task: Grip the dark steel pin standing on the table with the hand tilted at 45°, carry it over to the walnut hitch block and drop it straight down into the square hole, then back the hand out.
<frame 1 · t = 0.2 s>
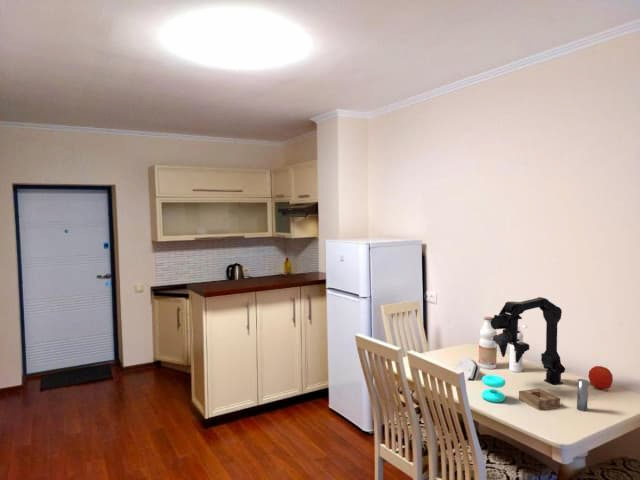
hand: (509, 359, 224), 15 cm above the table, tool pointing down, fingers open, 9 cm apart
hitch block: (538, 403, 208), on the table
apple: (599, 388, 226), on the table
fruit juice: (487, 367, 257), on the table
water bottle: (517, 370, 251), on the table
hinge: (467, 375, 244), on the table
donuts: (493, 399, 212), on the table
steel pin: (581, 409, 201), on the table
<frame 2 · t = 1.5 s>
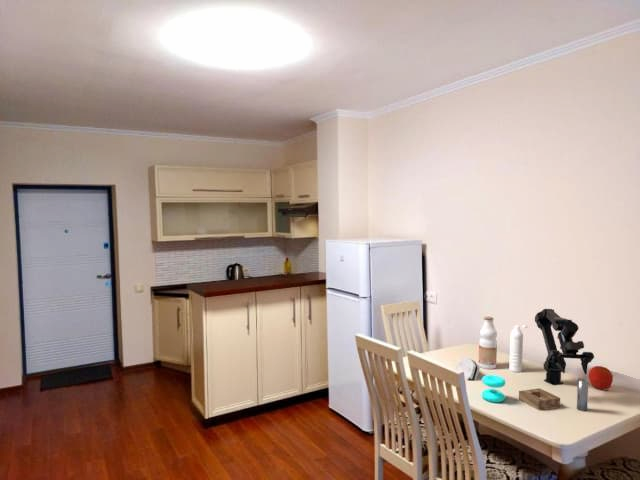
hand: (575, 373, 208), 13 cm above the table, tool tilted 45°, fingers open, 9 cm apart
nothing on the table moved.
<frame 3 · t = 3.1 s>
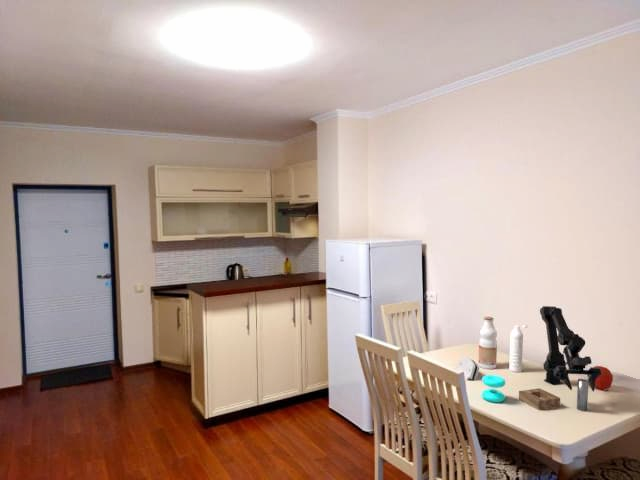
hand: (582, 390, 201), 9 cm above the table, tool tilted 45°, fingers open, 9 cm apart
nothing on the table moved.
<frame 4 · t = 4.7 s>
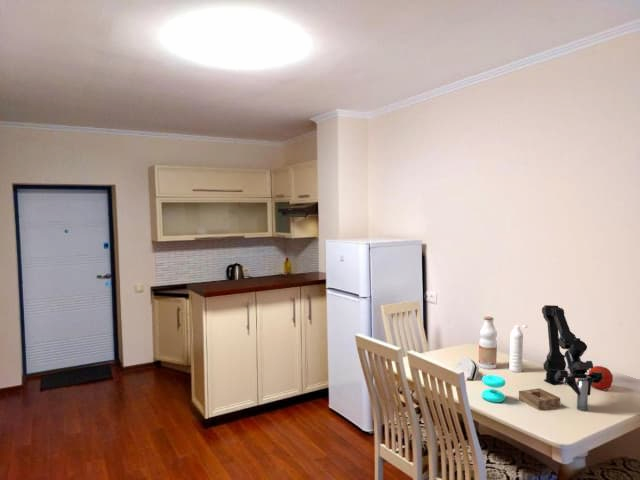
hand: (584, 394, 199), 7 cm above the table, tool tilted 45°, fingers closed on steel pin, 4 cm apart
steel pin: (581, 409, 201), on the table, touching gripper
everything else where it was.
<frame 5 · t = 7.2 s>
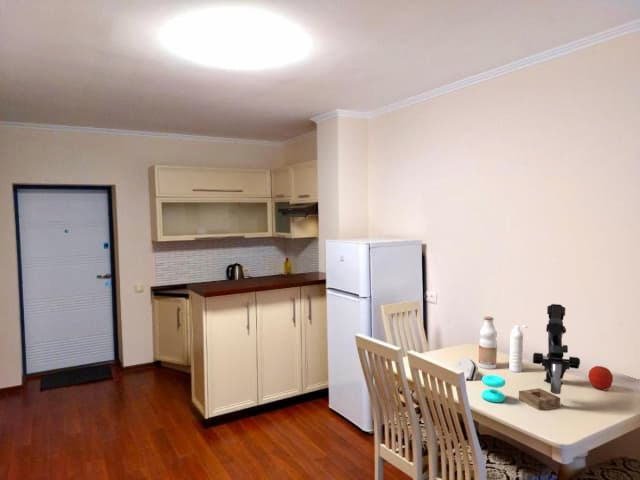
hand: (556, 377, 202), 13 cm above the table, tool tilted 45°, fingers closed on steel pin, 4 cm apart
steel pin: (555, 392, 204), point 6 cm above the table, touching gripper
when the fingers open (8 cm above the table, at t = 9.9 s): steel pin drops 1 cm, resting in hitch block.
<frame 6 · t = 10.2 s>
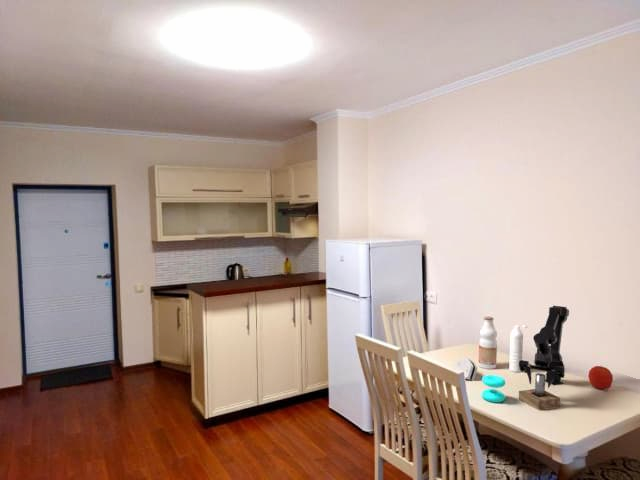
hand: (539, 385, 206), 9 cm above the table, tool tilted 45°, fingers open, 7 cm apart
steel pin: (539, 403, 208), resting in hitch block
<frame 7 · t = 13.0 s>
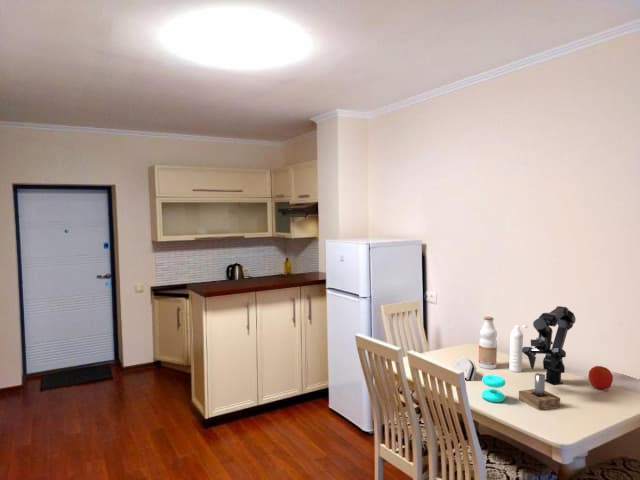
hand: (541, 369, 215), 13 cm above the table, tool tilted 35°, fingers open, 9 cm apart
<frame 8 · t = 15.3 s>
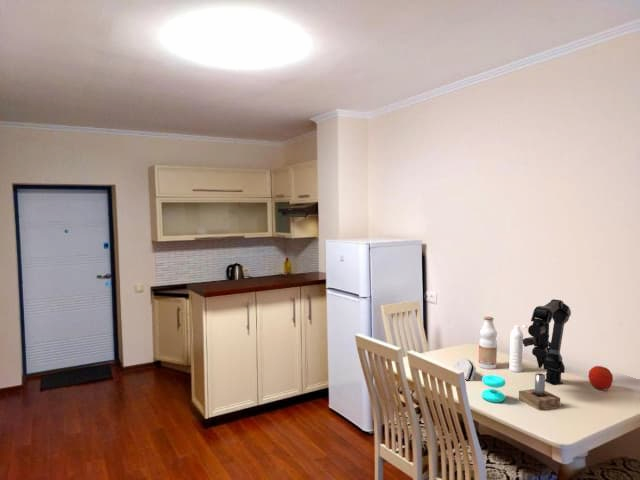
hand: (541, 365, 221), 13 cm above the table, tool pointing down, fingers open, 9 cm apart
at the end: steel pin 0.1 cm off-centre on the hitch block, point 0.0 cm above the hitch block's base; steel pin tilted 1°; the gripper is holding nothing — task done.
